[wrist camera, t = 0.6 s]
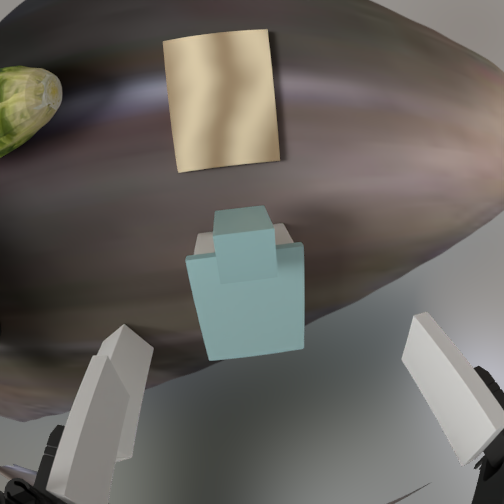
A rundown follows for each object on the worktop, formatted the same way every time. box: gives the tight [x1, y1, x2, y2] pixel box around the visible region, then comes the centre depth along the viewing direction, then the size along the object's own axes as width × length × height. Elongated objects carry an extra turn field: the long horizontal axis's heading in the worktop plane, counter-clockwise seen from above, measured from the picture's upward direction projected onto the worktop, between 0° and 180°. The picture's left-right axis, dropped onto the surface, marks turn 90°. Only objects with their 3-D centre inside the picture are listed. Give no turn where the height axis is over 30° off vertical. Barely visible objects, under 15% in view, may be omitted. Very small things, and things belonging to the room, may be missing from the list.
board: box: [163, 29, 280, 173], centre depth 28 cm, size 11×15×1 cm
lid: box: [185, 205, 304, 361], centre depth 28 cm, size 11×17×6 cm, turn 5°
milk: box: [97, 324, 154, 462], centre depth 31 cm, size 6×6×22 cm
